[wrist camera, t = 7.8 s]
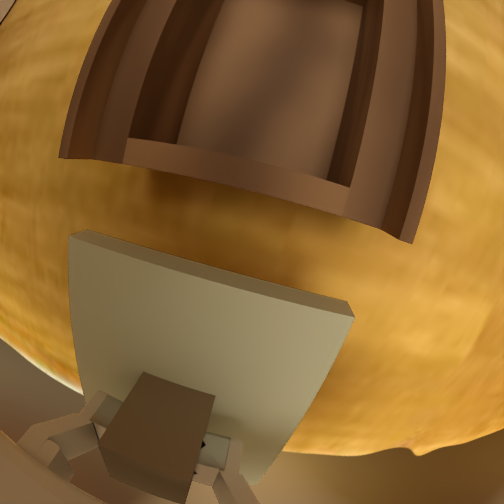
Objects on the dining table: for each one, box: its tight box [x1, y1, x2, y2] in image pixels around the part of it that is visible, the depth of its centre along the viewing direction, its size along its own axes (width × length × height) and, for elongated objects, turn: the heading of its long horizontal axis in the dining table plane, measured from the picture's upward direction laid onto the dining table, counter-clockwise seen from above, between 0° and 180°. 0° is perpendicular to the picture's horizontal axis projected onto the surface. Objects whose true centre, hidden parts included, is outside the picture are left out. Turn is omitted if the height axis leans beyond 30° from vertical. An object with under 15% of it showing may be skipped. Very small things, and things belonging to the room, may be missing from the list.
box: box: [58, 0, 446, 244], centre depth 9 cm, size 12×14×8 cm
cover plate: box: [68, 229, 355, 504], centre depth 9 cm, size 10×12×5 cm
